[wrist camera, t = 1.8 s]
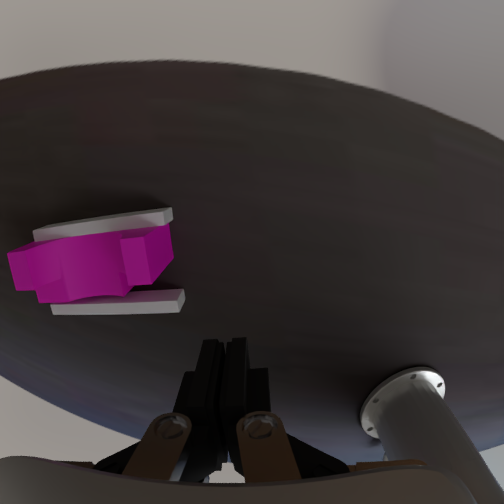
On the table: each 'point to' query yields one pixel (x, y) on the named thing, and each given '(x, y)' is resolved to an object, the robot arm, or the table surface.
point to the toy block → (91, 263)
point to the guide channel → (111, 303)
